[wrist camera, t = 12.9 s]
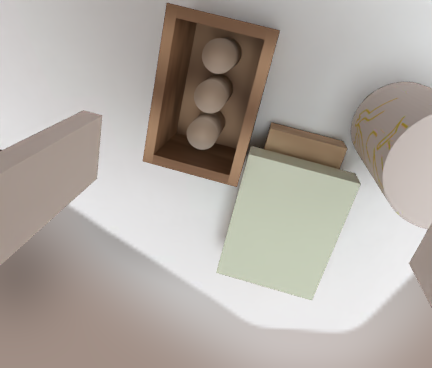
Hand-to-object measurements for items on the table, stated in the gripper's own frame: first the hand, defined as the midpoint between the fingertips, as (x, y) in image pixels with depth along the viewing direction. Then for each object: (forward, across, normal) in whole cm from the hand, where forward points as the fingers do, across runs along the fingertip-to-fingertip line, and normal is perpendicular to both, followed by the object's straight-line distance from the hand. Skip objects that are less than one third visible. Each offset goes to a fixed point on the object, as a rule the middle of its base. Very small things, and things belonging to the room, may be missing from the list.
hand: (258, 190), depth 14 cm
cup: (+22, +12, -1) cm, 26 cm away
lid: (+20, +4, -11) cm, 23 cm away
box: (+22, -5, -1) cm, 23 cm away
